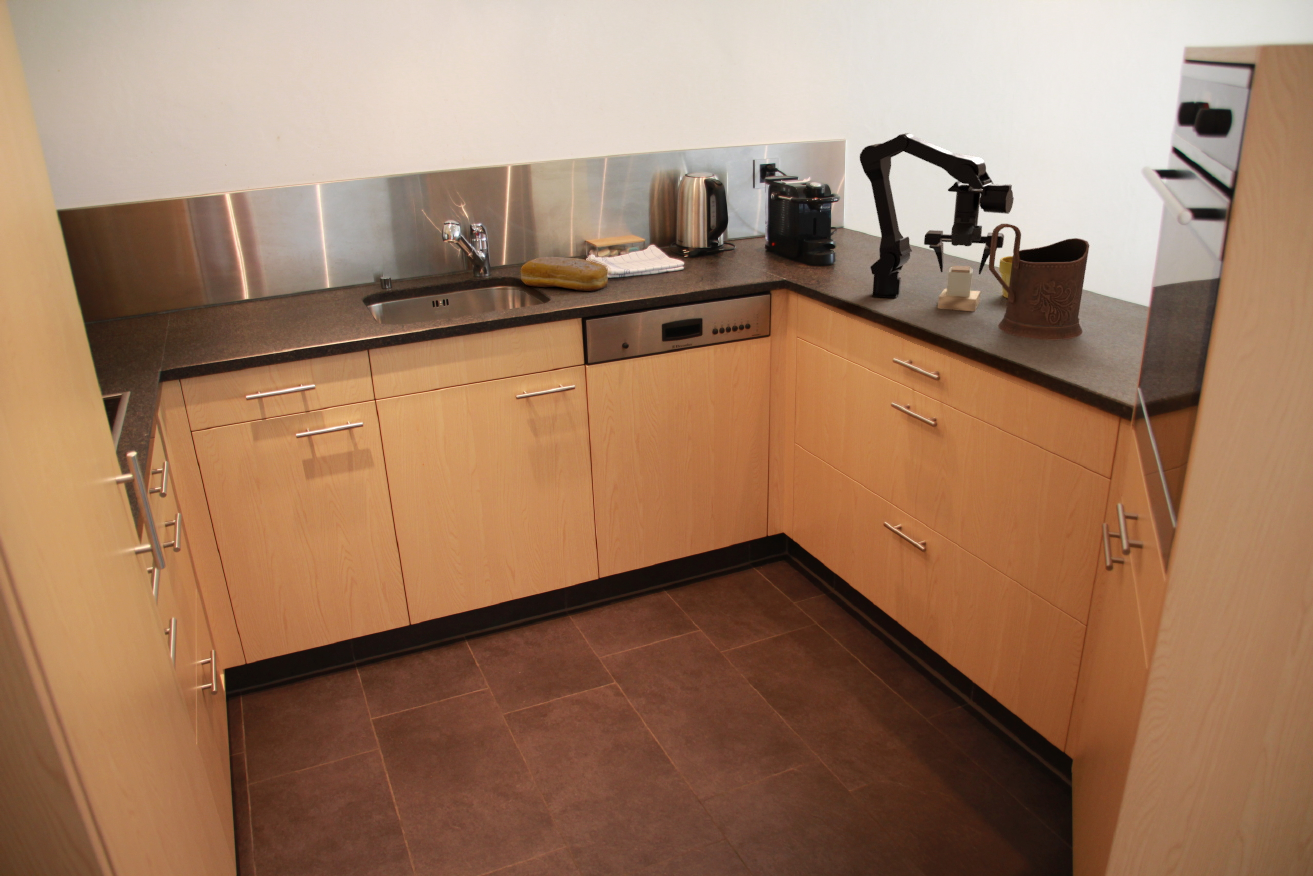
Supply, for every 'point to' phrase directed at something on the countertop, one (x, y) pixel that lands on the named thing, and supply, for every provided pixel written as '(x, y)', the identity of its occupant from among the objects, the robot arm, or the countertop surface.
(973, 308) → the beech block
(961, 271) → the cream lidded box
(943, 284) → the countertop surface
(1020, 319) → the cup holder
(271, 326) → the countertop surface
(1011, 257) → the plant pot
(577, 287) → the bread
